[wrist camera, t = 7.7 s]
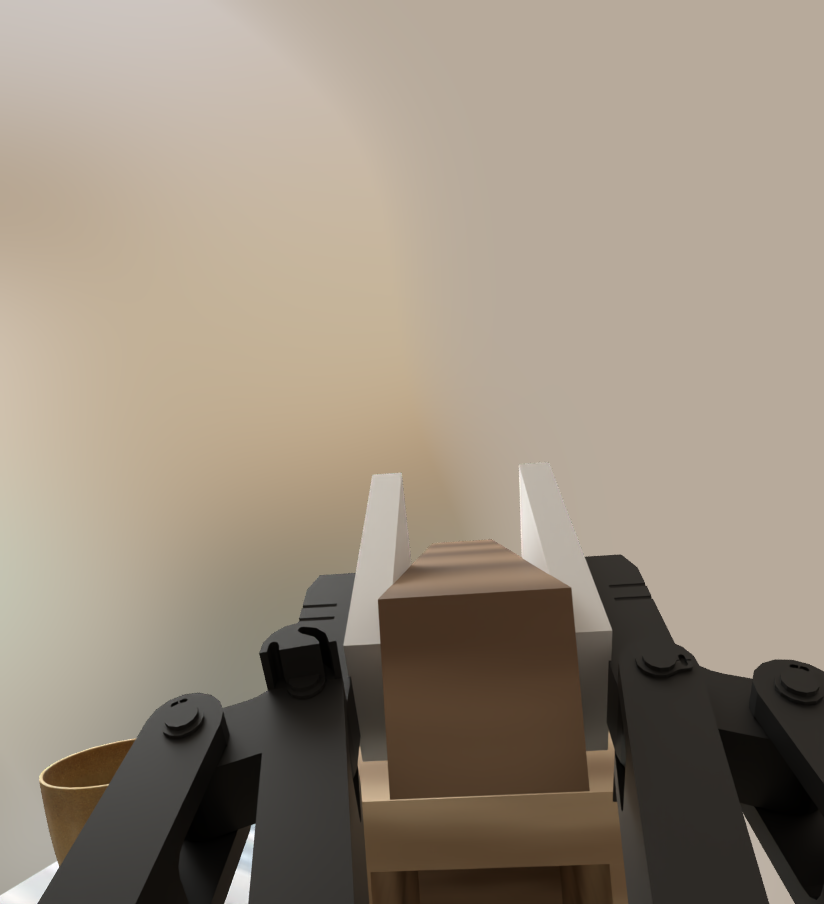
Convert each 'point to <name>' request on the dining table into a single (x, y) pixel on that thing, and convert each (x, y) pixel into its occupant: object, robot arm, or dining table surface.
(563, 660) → the wooden square beam
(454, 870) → the brown wooden tall box
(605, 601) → the robot arm
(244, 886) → the dining table surface
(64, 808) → the plant pot
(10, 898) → the dining table surface
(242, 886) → the dining table surface
